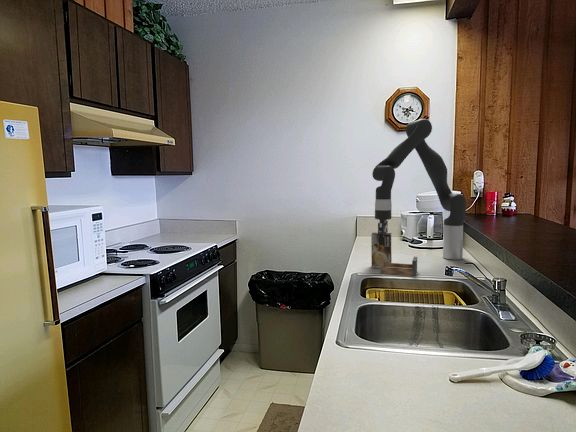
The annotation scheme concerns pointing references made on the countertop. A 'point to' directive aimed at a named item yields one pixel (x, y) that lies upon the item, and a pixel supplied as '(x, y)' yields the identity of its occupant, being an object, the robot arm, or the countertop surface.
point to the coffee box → (380, 250)
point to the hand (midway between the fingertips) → (382, 243)
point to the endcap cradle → (400, 268)
